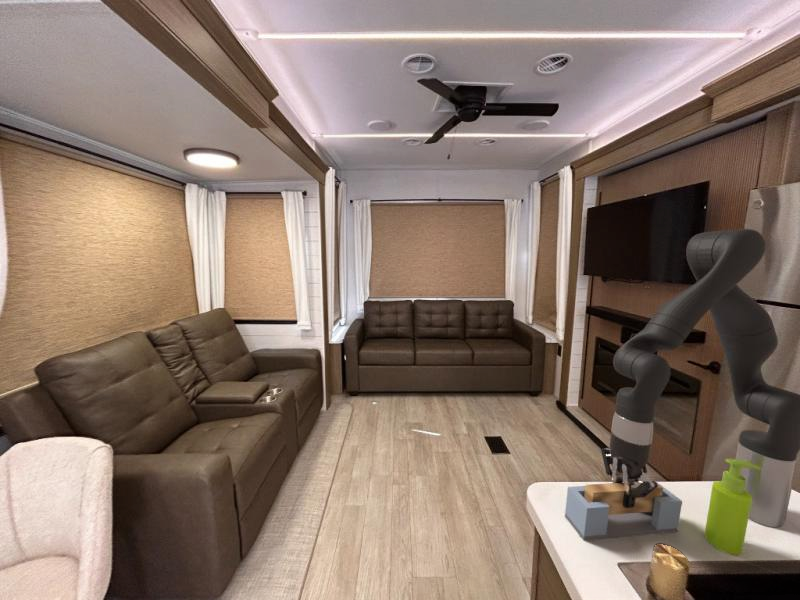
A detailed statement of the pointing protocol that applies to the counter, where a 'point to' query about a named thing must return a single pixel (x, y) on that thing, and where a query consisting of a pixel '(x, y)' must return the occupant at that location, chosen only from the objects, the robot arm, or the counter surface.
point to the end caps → (620, 517)
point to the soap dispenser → (729, 509)
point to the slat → (620, 498)
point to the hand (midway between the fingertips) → (622, 501)
